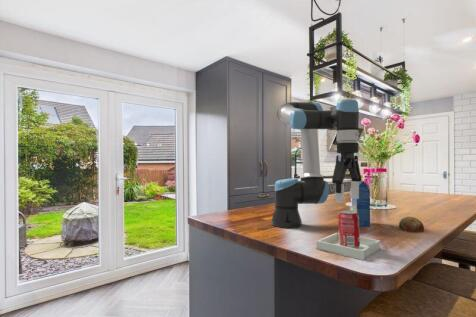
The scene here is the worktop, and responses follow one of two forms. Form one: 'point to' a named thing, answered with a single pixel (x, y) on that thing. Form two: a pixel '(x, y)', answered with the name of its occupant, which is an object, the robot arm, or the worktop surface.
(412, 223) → the bread roll
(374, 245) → the tray
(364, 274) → the worktop surface
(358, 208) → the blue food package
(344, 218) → the soda can
